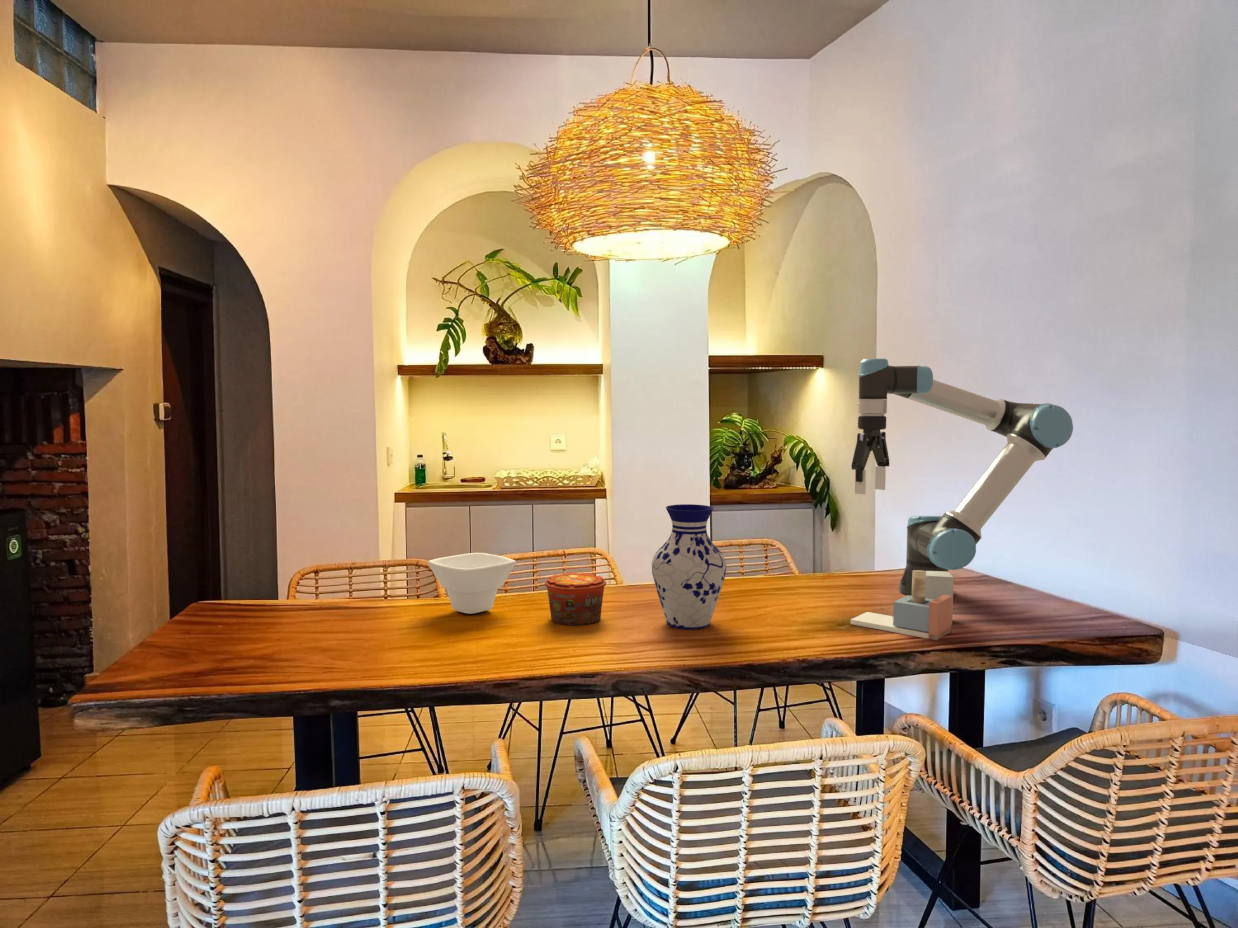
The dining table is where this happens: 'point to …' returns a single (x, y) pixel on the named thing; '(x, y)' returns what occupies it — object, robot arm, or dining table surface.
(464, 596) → the bowl
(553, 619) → the food container
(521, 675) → the dining table surface
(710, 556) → the vase
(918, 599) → the dowel
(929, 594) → the supplement box
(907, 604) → the socket block
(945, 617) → the peg insertion fixture
